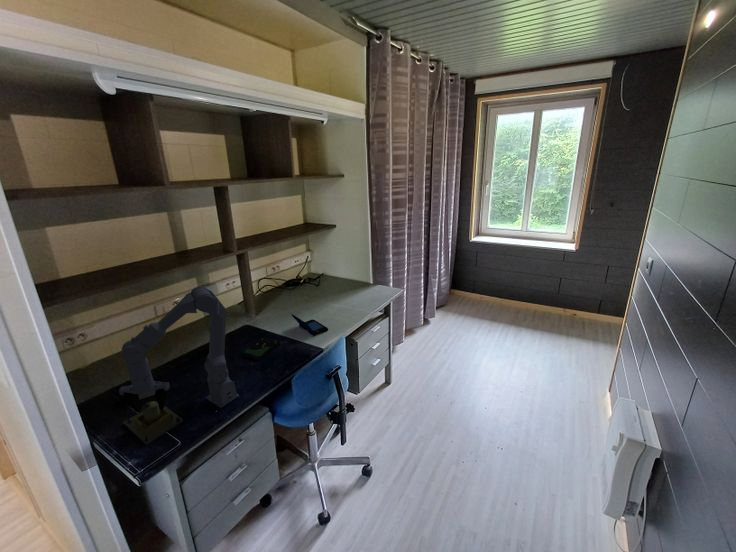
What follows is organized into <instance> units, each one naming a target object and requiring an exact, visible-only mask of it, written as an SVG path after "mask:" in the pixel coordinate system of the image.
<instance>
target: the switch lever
mask: <svg viewBox="0 0 736 552" xmlns="http://www.w3.org/2000/svg"><path fill="white" fill-rule="evenodd" d="M141 412H143V415H144V418H145V421H146V424H147V426H149V425H151V424H152V423H154V422H156V421H157V420H159V419H161V418H162V416H161V413H160V410H159V406H158V402H157V401H150V402H145V403H144V405H143V406H141Z"/></svg>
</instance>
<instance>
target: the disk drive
mask: <svg viewBox="0 0 736 552" xmlns="http://www.w3.org/2000/svg"><path fill="white" fill-rule="evenodd" d="M280 345H281V342H280V340H278V339H273V338H268V337H266V336H262V337H261V338H259V339H258V340H256V341H255V342H254V343H253V344H251V345H250V346H249V347H246V349H244V350H243V351H242V356H243V357H246V358H249V359H253V360H256V361H257V360H258V361H262V360H263V359H265V357H267V356H268V355H269V354H271V353H272V352H273V351H274V350H275V349H277V348H278V347H279V346H280Z"/></svg>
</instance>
